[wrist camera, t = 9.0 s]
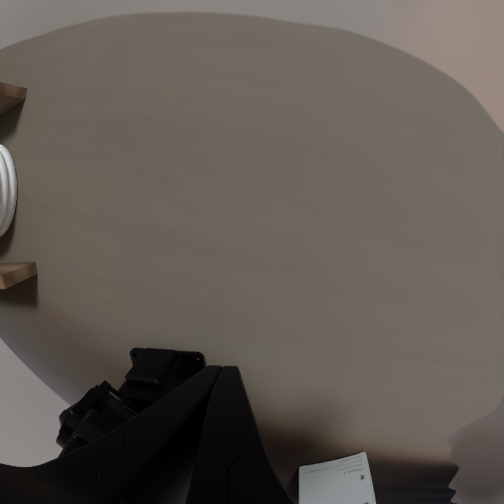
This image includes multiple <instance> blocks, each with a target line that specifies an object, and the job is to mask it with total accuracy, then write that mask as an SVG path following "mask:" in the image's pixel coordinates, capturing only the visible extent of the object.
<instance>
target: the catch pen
mask: <svg viewBox="0 0 504 504" xmlns="http://www.w3.org/2000/svg"><path fill="white" fill-rule="evenodd" d="M25 97H26V88H23V87H19V86H14V85H10V84H6V83H1V82H0V115H1V114H3V113H4V112H6V111H7V110H9V109H10V108H12V107H13V106H15V105H16V104H18V103H20V102H21V101H23V100H24V99H25ZM36 274H37V271H36V266H35V262H22V263H6V264H0V289H6V288H9V287H11V286H13V285H15V284H17V283H19V282H21V281H23V280H25V279H27V278H30V277H32V276H34V275H36Z"/></svg>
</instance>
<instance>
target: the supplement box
mask: <svg viewBox="0 0 504 504" xmlns="http://www.w3.org/2000/svg"><path fill="white" fill-rule="evenodd" d="M299 504H376V501H375V495H374V490H373V484H372V479H371V474H370V470H369V465H368V461H367V456H366V452H361V453H359V454H356V455H352V456H349V457H345V458H341V459H337V460H333V461H328V462H323V463H318V464H313V465H305V466H300V467H299Z"/></svg>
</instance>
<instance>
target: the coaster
mask: <svg viewBox="0 0 504 504" xmlns="http://www.w3.org/2000/svg"><path fill="white" fill-rule="evenodd" d="M16 200H17V178H16V171H15V166H14V162H13V159H12V157H11V155H10V153H9V151H8V150H7V149H6V148H5V147H4V146H3V145H1V144H0V237H1V236H2V235H3V234H4V233H5V232H6V231H7V230H8V228H9V227H10V224H11V222H12V219H13V216H14V212H15V207H16Z"/></svg>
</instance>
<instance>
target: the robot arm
mask: <svg viewBox="0 0 504 504" xmlns="http://www.w3.org/2000/svg"><path fill="white" fill-rule="evenodd" d="M135 353H136V354H137V355H136V354H135ZM130 356H131V360H132V363H133V367H132V368H131V370H130V371H129V372H128V373H127V375H126V376H125V379H126V380H125V382H124V383H123V384H122V386H121V387H120V388H119V390H118V391H117V390H115V389H114V388H113V387H111V384H109V383H108V382H107V381H104V382H103V383H102V384H101V385H99V386H98V385H96V386H95V387H94V388H91V389H90V390H89V391H88V392H87V393H86V394H85V396H84V397H83V398H82V399H81V400H80V401H79V402H77V403H76V404H74V405H72V406H71V407H69V408H68V409H66V410H64V411H63V412H62V413H61V415H60V416H59V420H60V424H61V428H60V430H59V435H58V437H57V440H56V443H57V444H58V445H60V446H61V447H62V448H63V450H62V452H61V453H60V455H59V457H58V458H56V459H54V460H51V461H49V462H46V463H44V464H41V465H38V466H33V467H16V466H10V465H6V464H1V463H0V504H295V503H294V502H293V500H292V499H291V497H290V496H289V494H288V493H287V491H286V489H285V488H284V486H283V485H282V483H281V481H280V479H279V477H278V476H277V474H276V472H275V470H274V468H273V466H272V463H271V461H270V459H269V456H268V454H267V451H266V448H265V446H264V443H263V440H262V438H261V435H260V432H259V429H258V426H257V423H256V420H255V417H254V414H253V411H252V408H251V405H250V402H249V399H248V396H247V393H246V390H245V387H244V384H243V381H242V378H241V374H240V371H239V368H238V367H237V366H224V367H222V366H216V365H209V366H207V367H206V363H205V358H204V355H203V354H202V353H200V352H189V351H175V350H168V349H153V348H147V349H143V348H133V349H132V350H131V351H130ZM195 357H198V358H199V359H200V360H197V359H196V358H195Z"/></svg>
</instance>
